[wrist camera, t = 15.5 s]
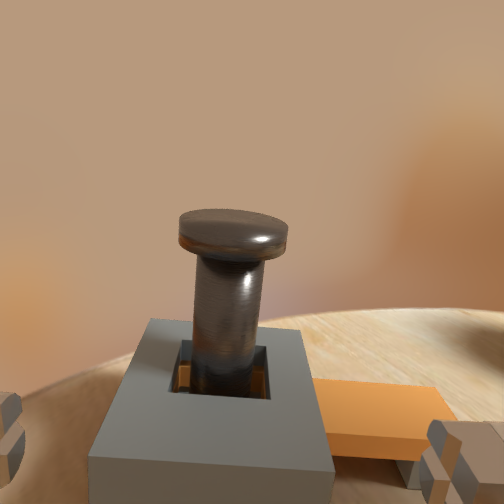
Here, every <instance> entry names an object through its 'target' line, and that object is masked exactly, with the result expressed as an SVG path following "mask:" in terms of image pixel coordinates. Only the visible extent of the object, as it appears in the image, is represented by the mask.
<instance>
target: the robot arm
mask: <svg viewBox="0 0 504 504" xmlns="http://www.w3.org/2000/svg"><path fill="white" fill-rule="evenodd" d="M21 412H22V405H21V399H20V396H18V395H17V394H16V393H9V392H0V489H1V488H3V487H4V486H6V485H7V484H9V483H10V482H11V481H12V479H13V477H14V476H15V474H16V473H17V471H18V469H19V466H20V463H21V461H22V458H23V455H24V449H25V430H24V429H23V428H22V427H21V426H20V425H19V423H18V422H17V421H16V419H17V418H18V416H19V415H20V414H21ZM426 436H427V438H428V440H429V441H430V443H431V446H430V447H428V448H427V449H426V450H425V451H424V452H423V453H422V454H421V459H420V464H419V482H420V486H421V490H422V494H423V496H424V498H425V501H426V503H427V504H504V422H492V421H483V422H475V421H457V420H439V419H433V421H432V422H431V423H430V425H429V427H428V431H427V435H426Z"/></svg>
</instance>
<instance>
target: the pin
mask: <svg viewBox="0 0 504 504" xmlns="http://www.w3.org/2000/svg"><path fill="white" fill-rule="evenodd" d="M287 233H288V225H287V224H286V223H285V222H283V221H281V220H279V219H277V218H274V217H271V216H268V215H264V214H260V213H255V212H249V211H243V210H232V209H202V210H194V211H190V212H187V213H184V214H182V215H181V216H180V219H179V238H178V241H179V244H180V246H181V247H182V248H184V249H186V250H187V251H189V252H191V253H194V254H197V266H196V282H195V283H196V284H195V300H194V316H193V333H192V349H191V366H190V383H189V394H197V395H211V396H224V397H238V398H250V389H251V380H252V371H253V362H254V353H255V345H256V336H257V327H258V317H259V309H260V300H261V290H262V282H263V273H264V264H265V260H270V259H274V258H277V257H279V256H281V255H283V254H284V252H285V249H286V242H287Z"/></svg>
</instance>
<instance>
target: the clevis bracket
mask: <svg viewBox="0 0 504 504" xmlns="http://www.w3.org/2000/svg"><path fill="white" fill-rule="evenodd" d="M192 333H193V322H191V321H178V320H165V319H153V318H151V319H150V321H149V323H148V326H147V328H146V330H145V332H144V334H143V336H142V339H141V341H140V343H139V345H138V347H137V349H136V352H135V354H134V356H133V358H132V360H131V362H130V365H129V367H128V369H127V371H126V373H125V375H124V378H123V380H122V382H121V384H120V386H119V388H118V391H117V393H116V395H115V397H114V399H113V401H112V404H111V406H110V408H109V410H108V412H107V414H106V417H105V419H104V421H103V423H102V425H101V427H100V430H99V432H98V434H97V436H96V438H95V440H94V443H93V445H92V447H91V449H90V451H89V453H88V456H87V459H88V494H89V504H329V503H330V498H331V493H332V488H333V483H334V478H335V473H336V472H335V468H334V464H333V460H332V456H331V455H334V456H349V457H364V458H379V459H394V460H395V461H396V464H397V466H398V468H399V471H400V473H401V475H402V478H403V480H404V482H405V485H406V487H407V489H421V486H420V482H419V464H420V459H421V454H422V453H423V452H424V451H425V450H426V449H427V448H428V447H430V446H431V443H430V441H429V440H428V438H427V436H426V435H427V431H428V427H429V425H430V423H431V422H432V421H433V419H439V420H457V418H456V417H455V415H454V414H453V412H452V411H451V410H450V408H449V407H448V405H447V404H446V402H445V401H444V399H443V398H442V397H441V395H440V394H439V392H438V391H437V389H436V388H435V387H423V386H410V385H396V384H383V383H369V382H356V381H343V380H329V379H316V378H312V376H311V372H310V368H309V364H308V360H307V356H306V352H305V348H304V344H303V340H302V336H301V332H300V330H291V329H279V328H266V327H257V336H256V345H255V353H254V362H253V371H252V380H251V389H250V398H238V397H224V396H211V395H197V394H189V383H190V366H191V349H192ZM457 421H458V420H457Z"/></svg>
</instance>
